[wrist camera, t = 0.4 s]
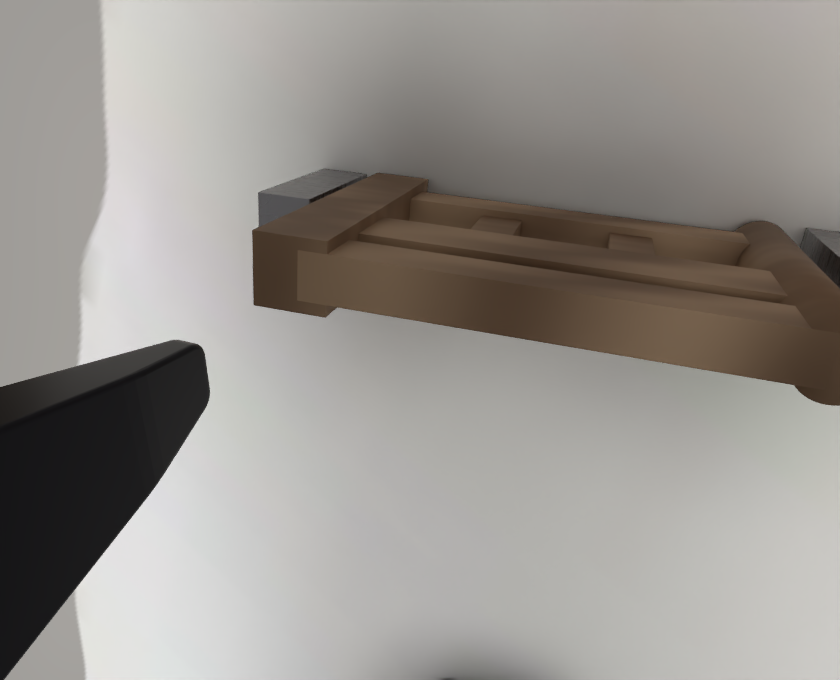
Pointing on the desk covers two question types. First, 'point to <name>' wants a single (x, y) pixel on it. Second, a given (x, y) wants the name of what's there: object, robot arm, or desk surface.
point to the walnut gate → (560, 279)
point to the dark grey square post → (824, 248)
